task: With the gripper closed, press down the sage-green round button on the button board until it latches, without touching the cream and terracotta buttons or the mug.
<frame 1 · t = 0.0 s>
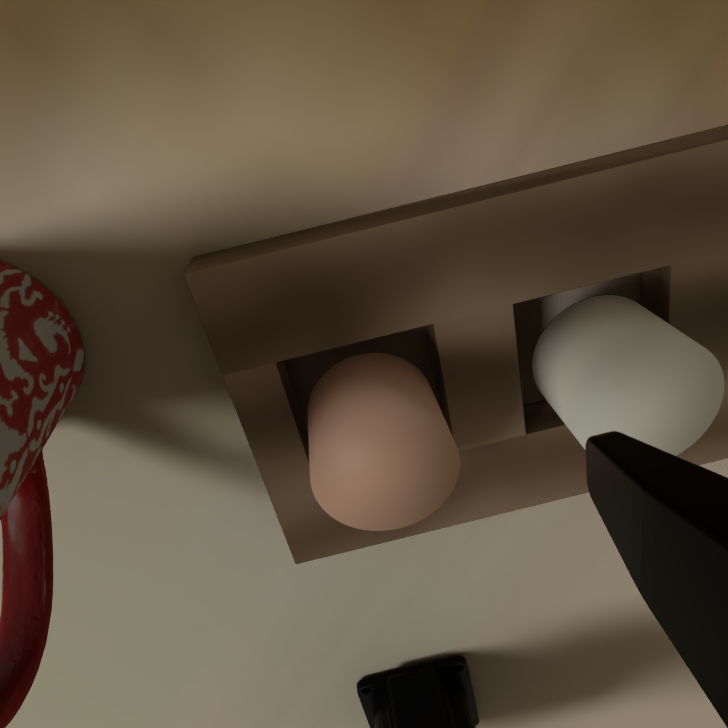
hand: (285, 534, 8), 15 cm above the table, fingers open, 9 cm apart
mug: (12, 379, 22), on the table
button board: (571, 334, 24), on the table
button cream: (619, 379, 20), point 4 cm above the table, slide at 0.0 cm
button terracotta: (377, 438, 20), point 4 cm above the table, slide at 0.0 cm
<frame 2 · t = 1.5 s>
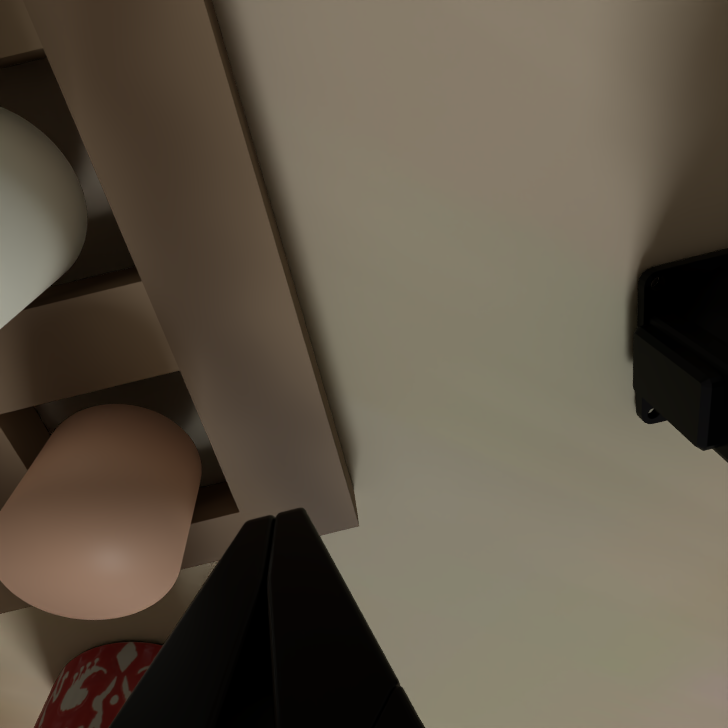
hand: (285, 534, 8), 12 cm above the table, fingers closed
mug: (170, 675, 27), on the table
button board: (19, 189, 17), on the table
button terracotta: (108, 507, 17), point 4 cm above the table, slide at 0.0 cm
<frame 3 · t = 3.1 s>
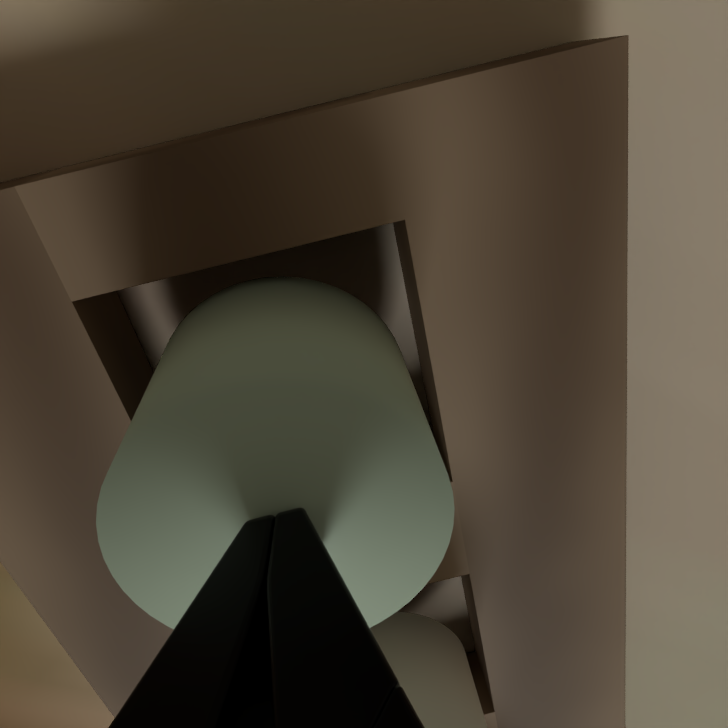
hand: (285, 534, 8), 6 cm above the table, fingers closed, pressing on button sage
button board: (368, 613, 17), on the table
button sage: (284, 451, 10), point 4 cm above the table, slide at 0.4 cm, touching gripper
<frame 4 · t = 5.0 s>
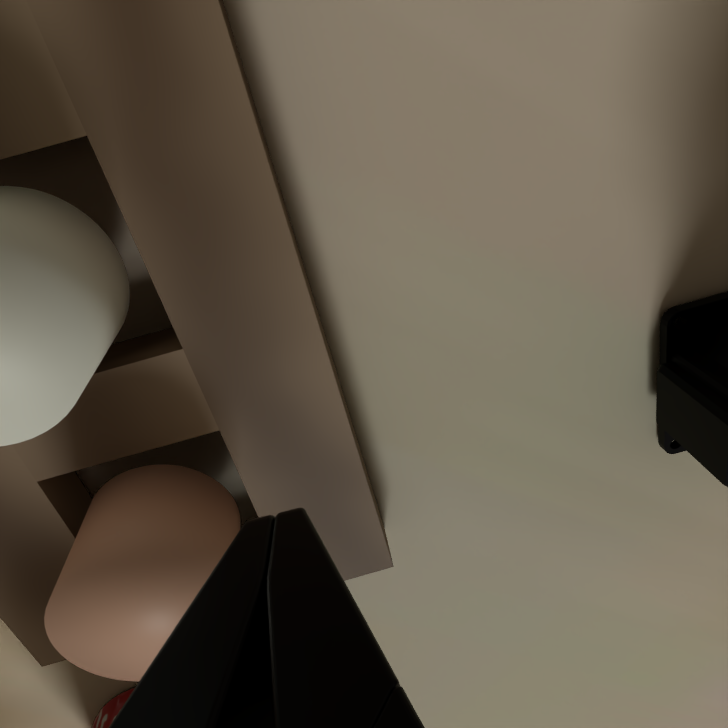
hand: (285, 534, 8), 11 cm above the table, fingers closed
mug: (205, 710, 28), on the table
button board: (56, 260, 17), on the table
button terracotta: (154, 568, 18), point 4 cm above the table, slide at 0.0 cm
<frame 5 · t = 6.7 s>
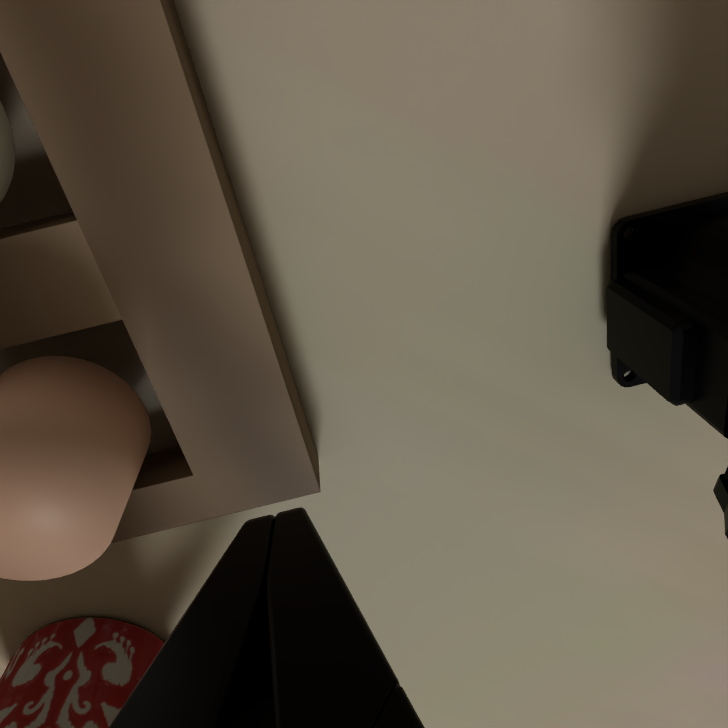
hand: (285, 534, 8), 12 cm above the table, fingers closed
mug: (134, 654, 26), on the table
button terracotta: (45, 463, 16), point 4 cm above the table, slide at 0.0 cm
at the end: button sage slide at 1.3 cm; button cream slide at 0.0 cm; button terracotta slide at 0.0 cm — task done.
